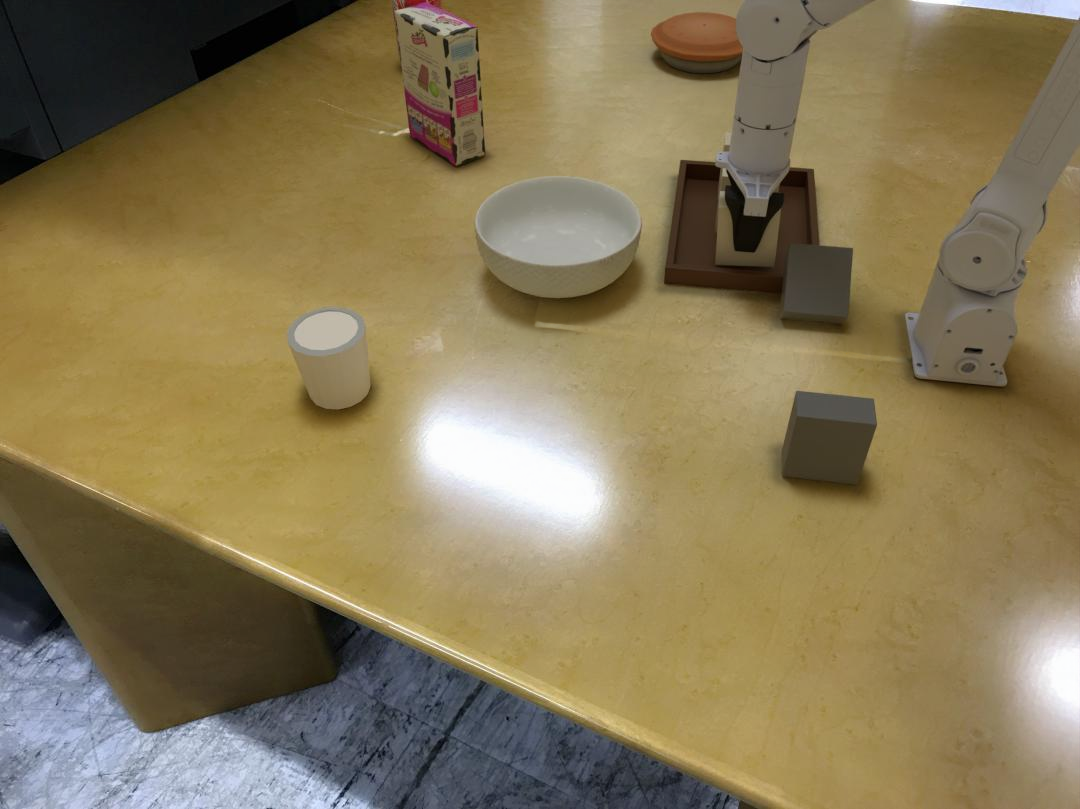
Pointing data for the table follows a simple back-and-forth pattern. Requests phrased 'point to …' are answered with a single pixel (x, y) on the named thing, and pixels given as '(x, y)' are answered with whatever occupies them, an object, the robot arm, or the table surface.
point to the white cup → (332, 356)
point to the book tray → (698, 239)
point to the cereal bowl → (558, 235)
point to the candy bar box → (442, 81)
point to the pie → (698, 42)
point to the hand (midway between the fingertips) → (745, 240)
